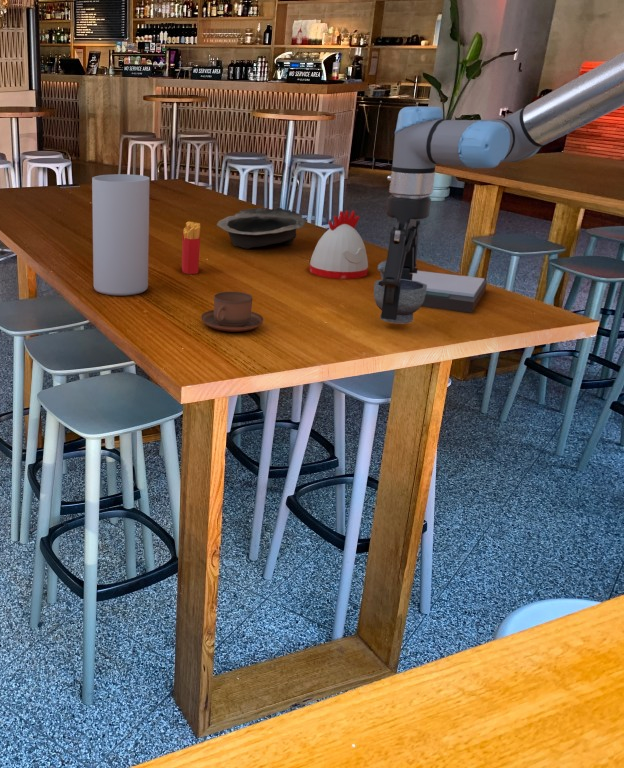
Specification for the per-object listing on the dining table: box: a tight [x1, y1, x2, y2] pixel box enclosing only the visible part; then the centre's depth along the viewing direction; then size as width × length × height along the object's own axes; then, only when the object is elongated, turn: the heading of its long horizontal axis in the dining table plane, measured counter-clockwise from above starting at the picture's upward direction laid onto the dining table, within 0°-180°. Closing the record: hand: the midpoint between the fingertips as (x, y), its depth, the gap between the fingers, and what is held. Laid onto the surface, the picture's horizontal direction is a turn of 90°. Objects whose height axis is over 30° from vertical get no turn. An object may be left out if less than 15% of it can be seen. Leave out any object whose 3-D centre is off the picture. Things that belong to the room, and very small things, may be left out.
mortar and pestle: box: [373, 260, 427, 325], centre depth 151 cm, size 11×9×12 cm
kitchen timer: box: [309, 210, 369, 280], centre depth 194 cm, size 14×14×15 cm
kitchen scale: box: [411, 270, 488, 314], centre depth 175 cm, size 20×16×3 cm
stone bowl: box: [216, 207, 308, 250], centre depth 224 cm, size 25×25×9 cm
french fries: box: [181, 220, 201, 275], centre depth 195 cm, size 8×4×12 cm, turn 2°
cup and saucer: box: [200, 291, 264, 333], centre depth 154 cm, size 12×12×6 cm
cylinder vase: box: [91, 173, 151, 297], centre depth 177 cm, size 12×12×25 cm
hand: (395, 312), depth 154 cm, fingers closed on mortar and pestle, 10 cm apart
